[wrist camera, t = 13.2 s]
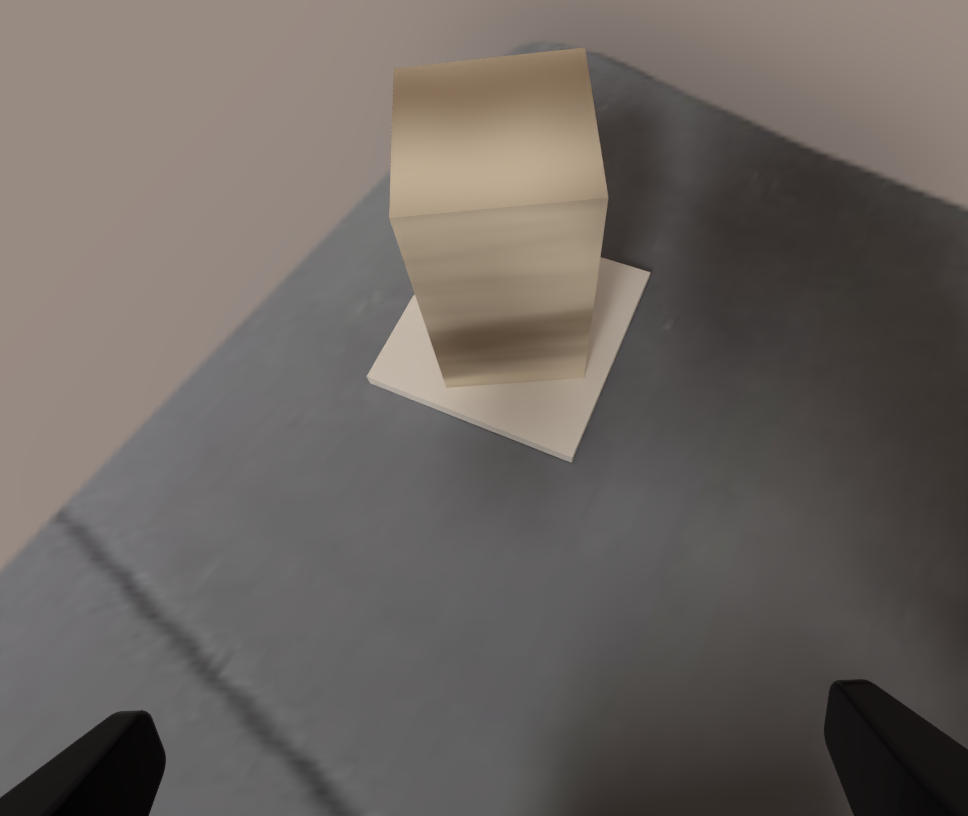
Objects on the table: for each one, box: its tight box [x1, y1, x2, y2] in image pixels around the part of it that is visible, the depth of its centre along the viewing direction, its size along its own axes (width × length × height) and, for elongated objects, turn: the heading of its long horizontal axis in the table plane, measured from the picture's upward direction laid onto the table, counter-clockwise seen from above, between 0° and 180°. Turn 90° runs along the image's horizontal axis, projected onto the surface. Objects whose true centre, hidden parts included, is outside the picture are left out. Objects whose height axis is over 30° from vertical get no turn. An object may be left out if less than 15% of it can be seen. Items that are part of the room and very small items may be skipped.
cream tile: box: [367, 257, 651, 463], centre depth 26 cm, size 9×9×1 cm
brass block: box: [389, 48, 608, 388], centre depth 21 cm, size 6×6×10 cm
